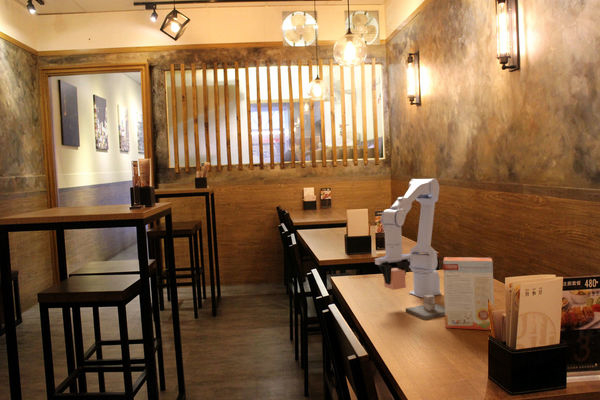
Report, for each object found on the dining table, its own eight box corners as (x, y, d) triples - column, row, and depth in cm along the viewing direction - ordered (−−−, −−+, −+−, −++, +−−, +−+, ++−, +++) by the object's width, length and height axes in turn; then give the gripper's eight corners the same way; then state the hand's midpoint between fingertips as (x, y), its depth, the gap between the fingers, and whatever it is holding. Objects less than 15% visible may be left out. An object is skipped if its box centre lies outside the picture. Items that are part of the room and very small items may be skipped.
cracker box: (493, 324, 146) (492, 256, 145) (494, 331, 140) (493, 260, 139) (445, 321, 151) (443, 256, 149) (444, 328, 145) (443, 259, 144)
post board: (433, 306, 168) (433, 290, 167) (453, 313, 158) (453, 296, 158) (405, 311, 163) (405, 295, 162) (424, 319, 153) (424, 302, 153)
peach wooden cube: (396, 284, 171) (396, 267, 170) (405, 287, 166) (405, 270, 166) (384, 286, 169) (383, 269, 168) (393, 289, 164) (392, 272, 163)
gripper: (403, 240, 173) (404, 277, 174) (369, 244, 167) (370, 283, 168) (416, 242, 167) (417, 281, 167) (380, 247, 161) (382, 287, 161)
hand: (394, 282), depth 167 cm, fingers closed on peach wooden cube, 5 cm apart
